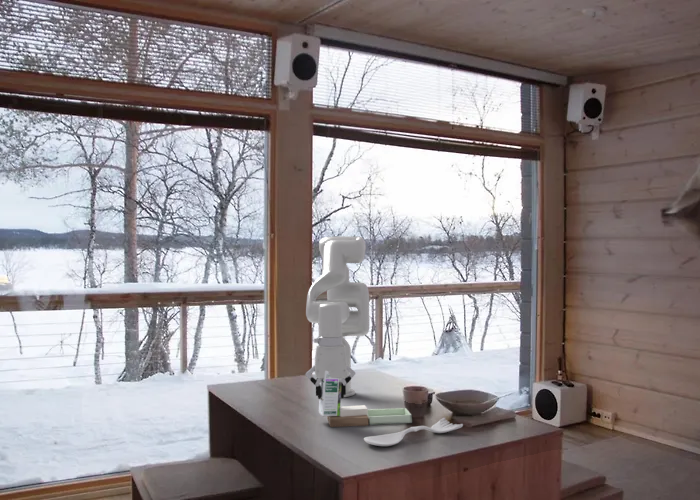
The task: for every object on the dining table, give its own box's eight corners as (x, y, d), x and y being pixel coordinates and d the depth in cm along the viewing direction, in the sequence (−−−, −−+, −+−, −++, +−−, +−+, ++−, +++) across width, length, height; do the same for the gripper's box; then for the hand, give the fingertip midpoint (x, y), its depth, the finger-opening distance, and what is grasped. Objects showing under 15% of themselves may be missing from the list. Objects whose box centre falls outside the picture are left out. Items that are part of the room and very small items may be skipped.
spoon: (464, 434, 189) (464, 422, 189) (375, 453, 172) (375, 440, 172) (444, 427, 197) (444, 416, 197) (357, 444, 180) (357, 432, 180)
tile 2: (350, 412, 205) (350, 405, 205) (364, 411, 206) (364, 405, 206) (354, 415, 200) (354, 409, 200) (367, 414, 201) (367, 408, 201)
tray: (365, 417, 208) (365, 409, 208) (405, 415, 210) (405, 407, 209) (369, 424, 199) (369, 416, 199) (412, 423, 201) (411, 415, 201)
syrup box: (322, 416, 198) (325, 370, 198) (318, 412, 203) (320, 367, 204) (339, 416, 199) (342, 370, 199) (335, 411, 205) (338, 367, 205)
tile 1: (337, 413, 204) (337, 406, 204) (350, 412, 205) (350, 405, 205) (340, 416, 199) (340, 410, 199) (354, 415, 200) (354, 409, 200)
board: (327, 418, 207) (327, 410, 207) (363, 416, 208) (363, 409, 208) (330, 427, 197) (330, 419, 197) (368, 425, 198) (368, 417, 198)
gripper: (303, 344, 197) (304, 401, 197) (358, 343, 199) (359, 399, 199) (302, 340, 204) (302, 395, 204) (355, 339, 206) (356, 394, 206)
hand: (330, 397), depth 202 cm, fingers open, 6 cm apart
